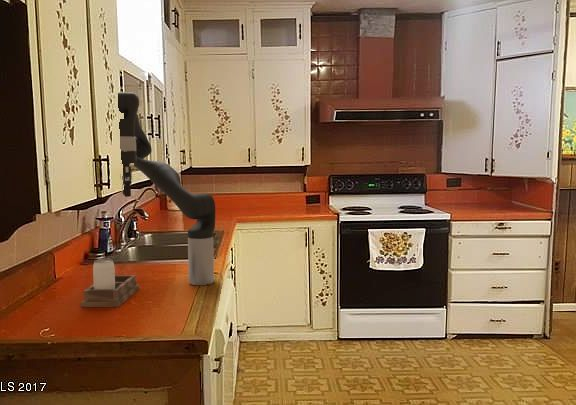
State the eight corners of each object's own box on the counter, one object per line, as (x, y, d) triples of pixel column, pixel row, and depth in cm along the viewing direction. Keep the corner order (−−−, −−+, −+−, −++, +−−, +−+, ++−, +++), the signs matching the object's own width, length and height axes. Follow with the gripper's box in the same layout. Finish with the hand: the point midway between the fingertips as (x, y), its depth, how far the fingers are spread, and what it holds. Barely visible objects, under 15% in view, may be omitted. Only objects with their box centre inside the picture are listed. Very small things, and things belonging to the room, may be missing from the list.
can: (112, 299, 154) (111, 262, 153) (91, 300, 153) (90, 263, 152) (117, 293, 160) (116, 258, 159) (97, 294, 160) (96, 258, 158)
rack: (105, 288, 172) (104, 275, 172) (139, 288, 172) (138, 274, 172) (81, 306, 151) (80, 291, 151) (119, 306, 151) (118, 291, 151)
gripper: (113, 150, 175) (114, 194, 177) (114, 149, 162) (116, 197, 164) (134, 150, 178) (136, 194, 180) (137, 149, 165) (139, 196, 166)
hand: (126, 195), depth 172 cm, fingers open, 8 cm apart
